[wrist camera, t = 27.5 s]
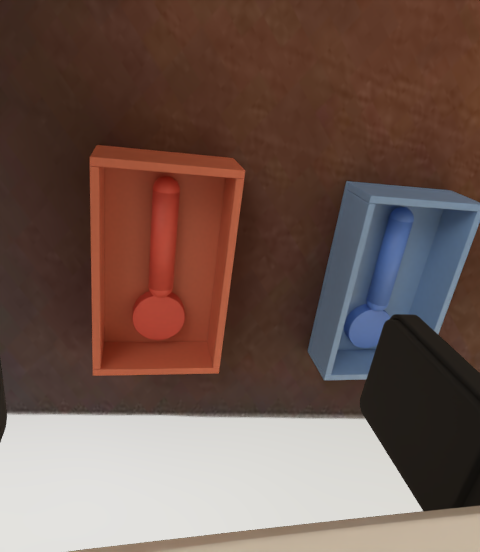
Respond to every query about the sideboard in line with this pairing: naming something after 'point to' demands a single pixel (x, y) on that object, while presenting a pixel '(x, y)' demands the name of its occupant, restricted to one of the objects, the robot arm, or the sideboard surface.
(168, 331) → the red spoon
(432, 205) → the blue bin
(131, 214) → the red bin
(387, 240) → the blue spoon
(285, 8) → the sideboard surface
